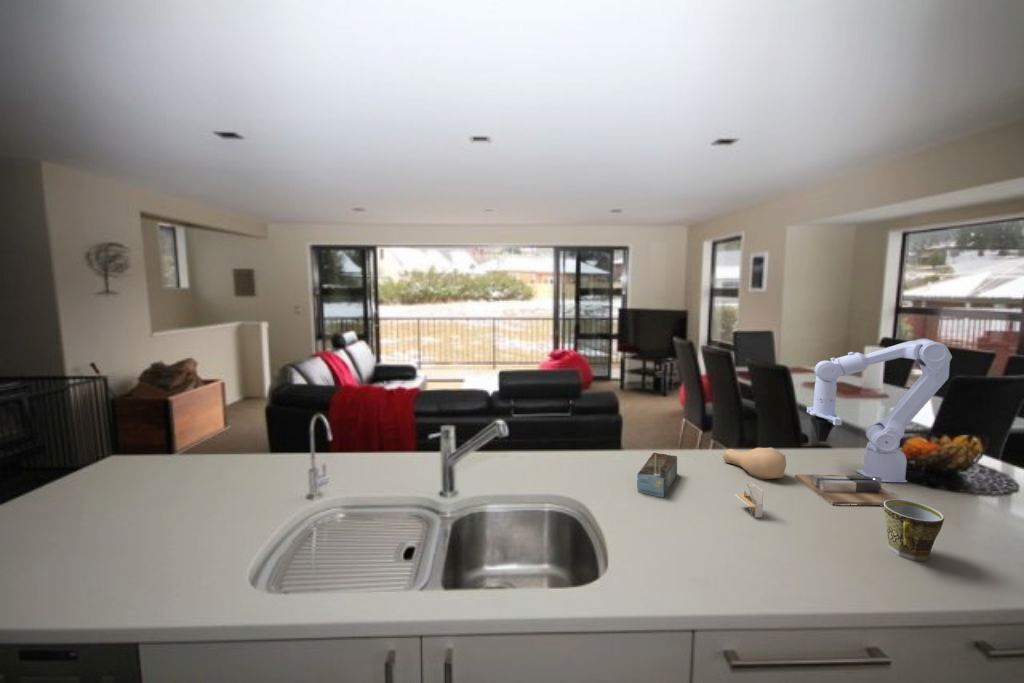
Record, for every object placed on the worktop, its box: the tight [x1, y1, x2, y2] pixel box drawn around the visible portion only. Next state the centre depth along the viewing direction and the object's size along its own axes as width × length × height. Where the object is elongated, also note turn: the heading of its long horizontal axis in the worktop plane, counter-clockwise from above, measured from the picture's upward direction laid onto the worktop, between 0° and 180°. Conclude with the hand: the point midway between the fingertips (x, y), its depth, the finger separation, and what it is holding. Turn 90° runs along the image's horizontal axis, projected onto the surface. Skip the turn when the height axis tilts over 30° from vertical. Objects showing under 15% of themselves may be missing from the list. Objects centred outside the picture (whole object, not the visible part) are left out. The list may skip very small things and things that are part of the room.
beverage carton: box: [636, 452, 678, 498], centre depth 138 cm, size 8×19×7 cm, turn 149°
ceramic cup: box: [883, 499, 945, 562], centre depth 100 cm, size 13×10×10 cm
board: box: [794, 473, 902, 507], centre depth 131 cm, size 19×18×1 cm
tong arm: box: [813, 475, 883, 489], centre depth 132 cm, size 18×2×3 cm, turn 84°
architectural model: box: [735, 481, 764, 518], centre depth 120 cm, size 3×7×7 cm, turn 4°
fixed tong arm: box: [819, 480, 879, 493], centre depth 129 cm, size 15×2×3 cm, turn 87°
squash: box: [722, 447, 787, 480], centre depth 146 cm, size 11×20×9 cm, turn 28°
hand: (821, 440), depth 146 cm, fingers closed
